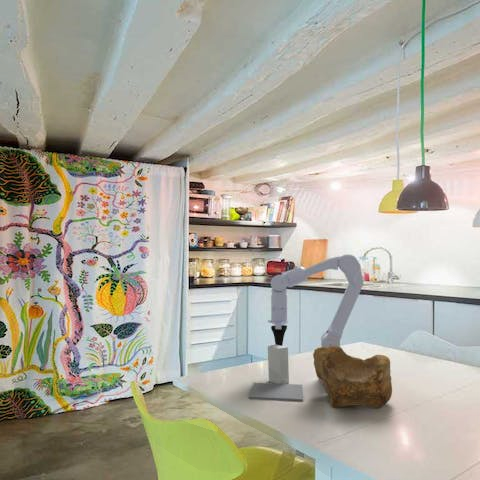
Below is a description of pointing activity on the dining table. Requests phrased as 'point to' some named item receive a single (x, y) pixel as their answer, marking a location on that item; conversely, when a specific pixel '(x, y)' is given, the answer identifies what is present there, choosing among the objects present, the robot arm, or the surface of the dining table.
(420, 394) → the dining table surface
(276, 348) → the skincare box
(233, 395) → the dining table surface
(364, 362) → the rough brown rock
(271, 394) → the rubber mat
